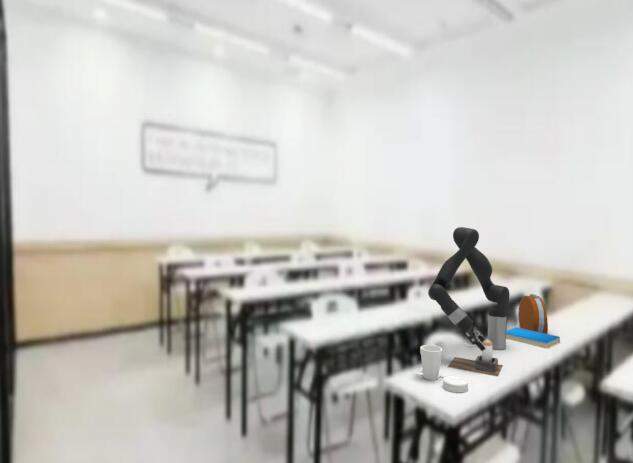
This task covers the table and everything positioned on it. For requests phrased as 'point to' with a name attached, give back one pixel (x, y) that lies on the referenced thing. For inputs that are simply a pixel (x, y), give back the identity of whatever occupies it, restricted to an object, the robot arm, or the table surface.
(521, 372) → the table surface
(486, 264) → the robot arm
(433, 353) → the foam cup
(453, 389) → the coaster
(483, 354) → the orange-capped post
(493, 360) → the jig board
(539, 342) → the book
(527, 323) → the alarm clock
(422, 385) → the table surface
